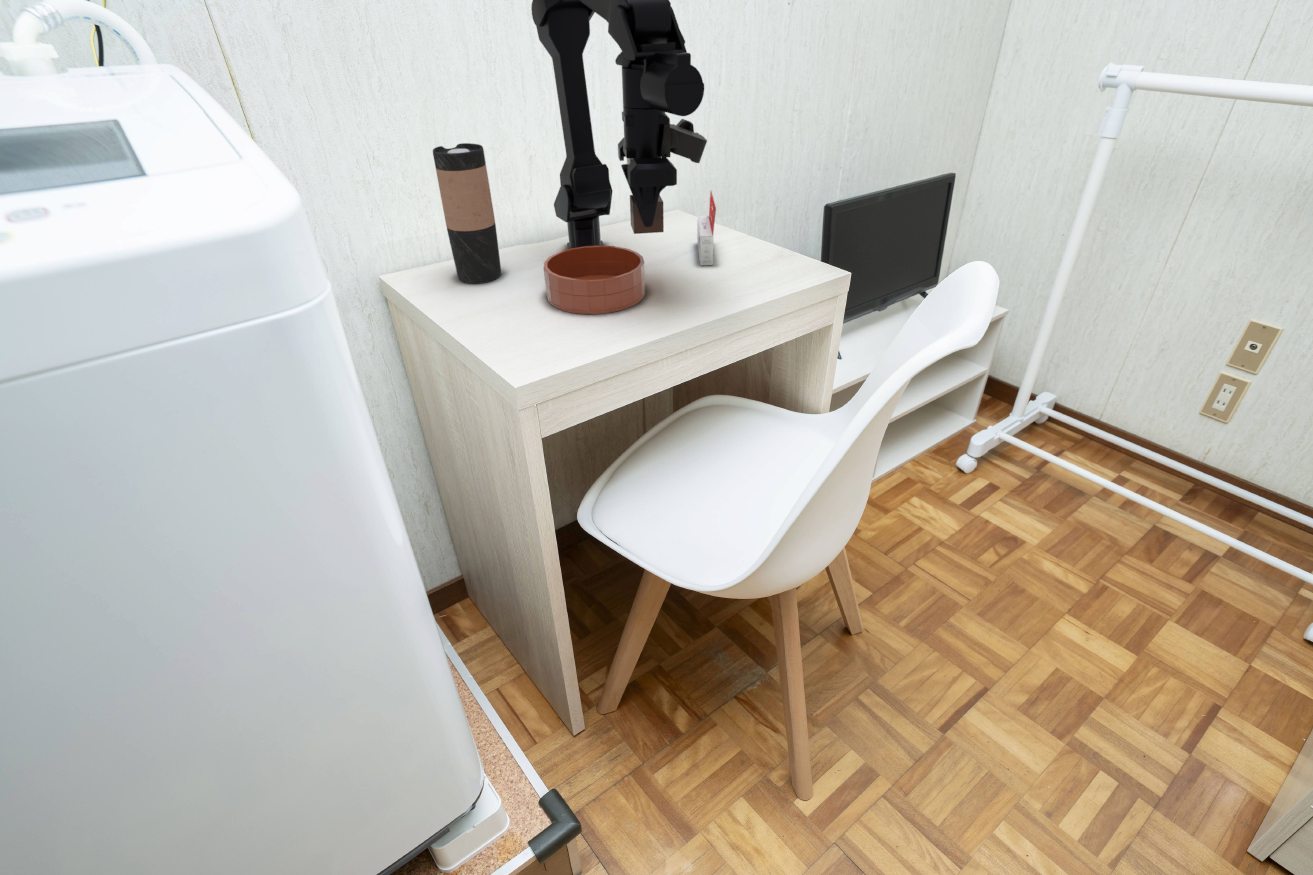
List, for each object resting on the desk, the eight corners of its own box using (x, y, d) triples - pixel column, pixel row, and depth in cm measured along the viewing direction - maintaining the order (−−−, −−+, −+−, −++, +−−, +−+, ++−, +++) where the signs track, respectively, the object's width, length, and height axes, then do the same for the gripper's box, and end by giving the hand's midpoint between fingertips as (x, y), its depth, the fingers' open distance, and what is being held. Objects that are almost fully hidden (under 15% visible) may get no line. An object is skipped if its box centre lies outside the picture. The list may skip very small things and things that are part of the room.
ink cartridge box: (699, 266, 114) (701, 207, 108) (696, 244, 123) (697, 189, 117) (714, 265, 114) (716, 207, 108) (709, 244, 123) (711, 189, 117)
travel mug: (492, 285, 108) (470, 154, 96) (448, 283, 109) (422, 153, 98) (510, 269, 114) (491, 143, 102) (468, 266, 115) (445, 142, 104)
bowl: (548, 279, 110) (544, 248, 107) (639, 273, 111) (638, 243, 108) (546, 317, 97) (542, 283, 94) (649, 310, 99) (649, 277, 96)
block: (630, 224, 101) (629, 195, 98) (659, 223, 101) (659, 193, 99) (633, 234, 97) (632, 203, 95) (663, 232, 98) (663, 201, 95)
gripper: (717, 115, 83) (712, 238, 92) (690, 93, 98) (688, 201, 107) (628, 118, 82) (632, 243, 91) (615, 96, 97) (620, 205, 106)
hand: (646, 221), depth 99 cm, fingers closed on block, 4 cm apart
